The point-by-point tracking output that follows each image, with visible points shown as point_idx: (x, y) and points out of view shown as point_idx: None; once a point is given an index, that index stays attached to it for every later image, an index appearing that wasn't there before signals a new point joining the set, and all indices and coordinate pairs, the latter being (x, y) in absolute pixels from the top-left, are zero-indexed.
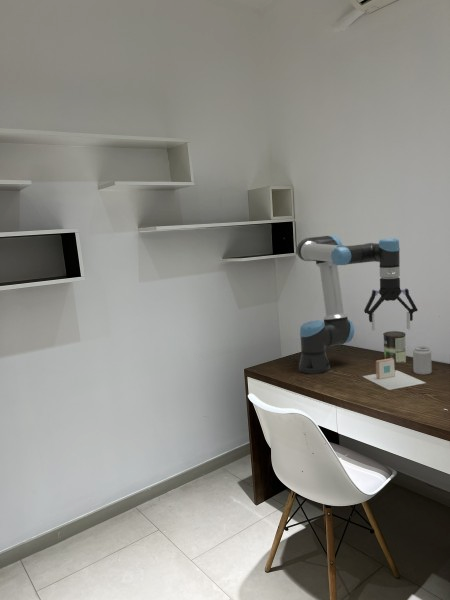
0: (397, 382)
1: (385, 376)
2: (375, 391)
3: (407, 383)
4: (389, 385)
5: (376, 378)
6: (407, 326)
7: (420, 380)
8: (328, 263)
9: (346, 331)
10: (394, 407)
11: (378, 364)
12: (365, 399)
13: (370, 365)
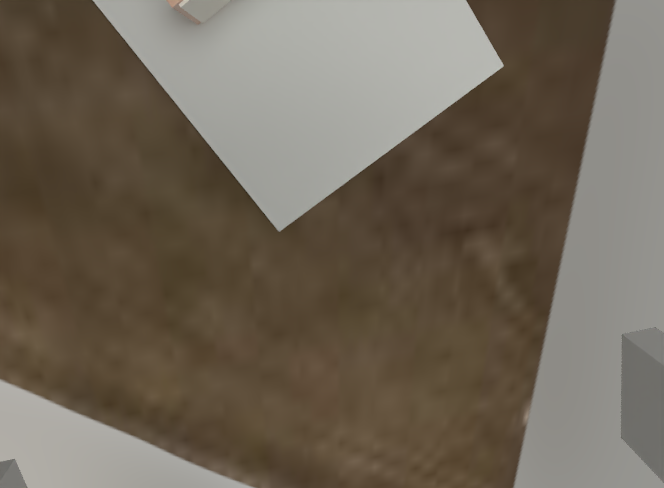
0: (326, 81)
1: None
2: (201, 242)
3: (388, 95)
4: (277, 149)
5: None
6: (649, 417)
7: (474, 18)
8: None
9: None
10: (315, 439)
11: (176, 10)
12: (164, 370)
13: None
